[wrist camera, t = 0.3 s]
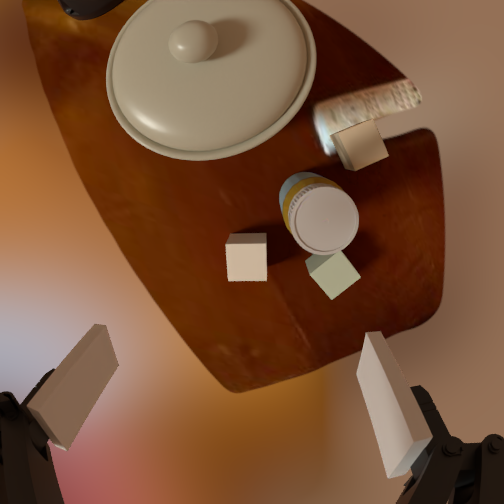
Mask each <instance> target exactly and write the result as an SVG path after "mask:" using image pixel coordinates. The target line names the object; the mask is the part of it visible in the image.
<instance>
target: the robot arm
mask: <svg viewBox="0 0 504 504" xmlns="http://www.w3.org/2000/svg"><path fill="white" fill-rule="evenodd" d="M121 1H122V0H58V2H59V4H60V5H61V7H62V9H63V10H64V12H65V13H66V14H67V15H69V16H71V17H73V18H75V19H77V20H88V19H92V18H95V17H98V16H100V15H102V14H104V13H106V12H108V11H109V10H111V9H112V8H114V7H115V6H116V5H118V4H119V3H120V2H121ZM118 366H119V364H118V361H117V358H116V356H115V352H114V349H113V346H112V343H111V340H110V337H109V333H108V330H107V327H106V325H99V324H94V326H93V327H92V328H91V329H90V330H89V331H88V332H87V333H86V335H85V336H84V337H83V338H82V339H81V340H80V341H79V342H78V344H77V345H76V346H75V347H74V348H73V349H72V350H71V352H70V353H69V354H68V355H67V356H66V358H65V359H64V360H63V361H62V362H61V364H60V365H59V366H58V367H57V368H56V369H52V370H50V371H49V372H47V373H46V374H45V375H44V376H43V377H42V378H41V380H40V382H38V383H37V385H36V387H34V388H33V389H32V391H31V392H30V393H29V394H28V396H27V397H26V398H25V399H24V401H23V402H22V403H21V404H19V403H18V401H17V400H16V398H15V397H14V395H13V394H12V393H11V392H2V393H0V504H64V501H63V498H62V494H61V491H60V488H59V484H58V481H57V477H56V473H55V470H54V465H53V462H52V457H51V452H50V447H49V445H48V444H47V441H48V439H50V440H51V441H52V443H53V444H54V445H55V446H56V447H59V448H61V449H63V450H65V451H68V450H69V448H70V446H71V444H72V442H73V441H74V439H75V437H76V435H77V434H78V432H79V430H80V428H81V427H82V425H83V423H84V421H85V420H86V418H87V416H88V415H89V413H90V411H91V409H92V408H93V406H94V405H95V403H96V401H97V400H98V398H99V396H100V394H101V393H102V392H103V390H104V388H105V387H106V385H107V383H108V382H109V380H110V379H111V377H112V375H113V374H114V372H115V371H116V369H117V367H118ZM356 375H357V377H358V381H359V384H360V387H361V389H362V393H363V396H364V399H365V402H366V405H367V408H368V412H369V415H370V418H371V421H372V424H373V428H374V431H375V435H376V438H377V442H378V445H379V448H380V452H381V456H382V459H383V463H384V466H385V470H386V474H387V477H388V478H393V477H397V476H401V475H405V474H406V473H407V471H408V470H409V469H410V468H411V470H412V473H413V475H412V476H411V477H410V478H409V480H408V481H407V482H406V483H405V484H404V486H406V487H405V489H404V490H403V492H402V494H401V495H400V497H399V499H398V500H397V502H396V504H446V503H447V501H448V504H504V438H503V437H501V436H500V435H497V434H491V435H488V436H487V437H485V439H484V440H483V441H482V442H481V443H463V442H462V441H461V440H460V439H459V438H457V437H453V436H451V435H450V434H449V432H448V430H447V428H446V426H445V424H444V422H443V420H442V418H441V416H440V414H439V412H438V410H436V406H435V404H434V403H433V400H432V398H431V396H430V395H429V393H428V392H427V391H426V390H425V389H424V388H423V387H421V386H420V385H419V386H414V387H409V385H408V383H407V381H406V379H405V377H404V375H403V373H402V371H401V369H400V367H399V365H398V363H397V361H396V360H395V357H394V355H393V354H392V352H391V350H390V348H389V346H388V344H387V342H386V341H385V339H384V337H383V335H382V333H381V331H380V332H366V336H365V340H364V345H363V349H362V354H361V358H360V362H359V366H358V370H357V374H356ZM448 499H449V500H448Z"/></svg>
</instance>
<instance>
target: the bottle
mask: <svg viewBox="0 0 504 504" xmlns="http://www.w3.org/2000/svg"><path fill="white" fill-rule="evenodd" d="M279 202H280V206H281V211H282V215H283V219H284V222H285V225H286V227H287V228H288V230H289V231H290V233H291V234H292V235H293V237H294V238H295V240H296V241H297V243H298V244H299V245H300V246H302V248H304V249H305V250H307V251H309V252H311V253H314V254H318V255H330V254H334V253H337V252H339V251H341V250H343V249H344V248H345V247H347V246H348V245H349V244H350V242H351V241H352V240H353V238H354V237H355V235H356V232H357V229H358V223H359V217H358V211H357V208H356V206H355V203H354V202H353V200H352V199H351V198H350V196H348V194H347V193H345V192H344V191H343V189H342V188H341V187H340V186H338V185H337V184H336V183H335V182H333V181H332V180H329V179H327V178H324V177H322V176H319V175H317V174H314V173H311V172H300V173H296V174H294V175H292V176H291V177H289V178H288V179H287V180H286V181H285V182H284V184H283V185H282V187H281V190H280V194H279Z"/></svg>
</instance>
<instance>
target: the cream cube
mask: <svg viewBox="0 0 504 504" xmlns="http://www.w3.org/2000/svg"><path fill="white" fill-rule="evenodd" d="M226 257H227V272H228V281H267V240H266V233H241V234H230V236H229V238H228V240H227V242H226Z"/></svg>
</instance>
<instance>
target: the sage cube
mask: <svg viewBox="0 0 504 504" xmlns="http://www.w3.org/2000/svg"><path fill="white" fill-rule="evenodd" d="M305 262H306V265H307V268H308V271H309V274H310V275H311V277H312V278H313V279H314V280H315V281H316V282H317V283H318V285H319V286H320V287H321V288H322V289H323V290H324V292H325V293H326V294H327V295H328V296H329V297H330V299H331V300H332V299H333V298H335V297H336V296H337V295H339V294H340V293H341V292H343V291H344V290H345V289H346V288H348V287H349V286H350V285H352V284H353V283H354V282H355V281H357V280H358V279H359V278H360V277H361V276H360V275H359V274H358V272H357V271H356V269H355V268H354V267H353V265H352V264H351V263H350V261H349V260H348V259H347V257H346V256H345V255H344V253H343V252H342V251H339V252H337V253H334V254H330V255H318V254H313V255H312V256H311V257H309V258H308V259H307V260H306V261H305Z"/></svg>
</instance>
